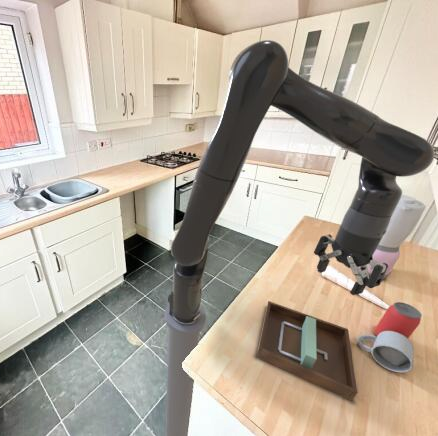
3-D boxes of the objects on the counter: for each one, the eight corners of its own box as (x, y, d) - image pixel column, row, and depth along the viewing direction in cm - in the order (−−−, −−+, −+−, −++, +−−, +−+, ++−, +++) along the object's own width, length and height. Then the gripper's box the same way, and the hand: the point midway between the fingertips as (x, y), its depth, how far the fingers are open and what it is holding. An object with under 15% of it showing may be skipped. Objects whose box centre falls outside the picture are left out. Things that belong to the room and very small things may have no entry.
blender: (392, 284, 91) (439, 208, 76) (352, 274, 96) (388, 201, 81) (380, 260, 104) (418, 191, 88) (345, 253, 109) (376, 186, 93)
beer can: (385, 326, 76) (404, 298, 70) (409, 345, 70) (431, 317, 64) (367, 329, 75) (385, 302, 69) (390, 349, 69) (410, 321, 63)
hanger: (277, 355, 68) (281, 344, 65) (281, 319, 78) (285, 308, 76) (328, 378, 62) (334, 366, 60) (325, 335, 73) (331, 324, 70)
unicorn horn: (394, 321, 77) (401, 310, 75) (318, 276, 96) (322, 266, 94) (401, 315, 79) (408, 304, 77) (326, 272, 98) (329, 263, 96)
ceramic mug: (407, 357, 67) (420, 339, 63) (404, 378, 62) (418, 360, 59) (359, 333, 74) (369, 315, 70) (353, 350, 69) (363, 332, 66)
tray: (256, 356, 68) (258, 348, 66) (266, 308, 83) (268, 300, 81) (351, 400, 58) (357, 392, 56) (343, 336, 73) (348, 329, 71)
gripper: (320, 216, 59) (301, 268, 67) (388, 248, 47) (355, 306, 55) (341, 211, 61) (321, 262, 69) (412, 240, 49) (377, 297, 57)
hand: (336, 282), depth 62 cm, fingers open, 8 cm apart
